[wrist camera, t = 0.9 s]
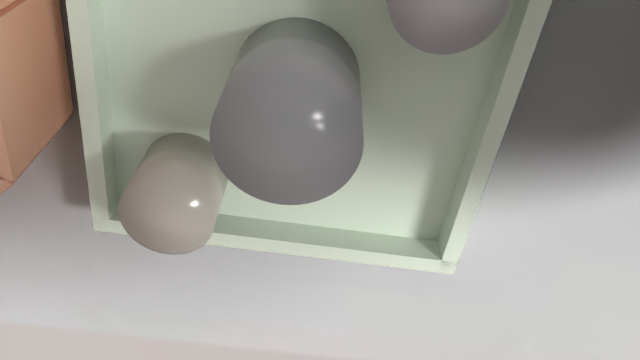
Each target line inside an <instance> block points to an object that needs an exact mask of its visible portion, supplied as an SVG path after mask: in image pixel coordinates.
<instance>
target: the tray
mask: <svg viewBox="0 0 640 360" xmlns="http://www.w3.org/2000/svg"><path fill="white" fill-rule="evenodd" d="M551 3H552V0H510V4H509V7H508V10H507V12H506V14H505V16H504V18H503V20H502V21H501V23H500V24H499V26H498V27H497V28H496V29H495V30H494V32H493V33H492V34H491V35H490V36H488V37H487V38H486V39H485V40H484V41H482V42H481V43H479V44H478V45H476V46H474V47H472V48H470V49H468V50H465V51H462V52H459V53H454V54H444V55H440V54H432V53H427V52H424V51H421V50H419V49H417V48H415V47H413V46H412V45H410V44H409V43H407V42H406V41H405V40H404V39H403V38H402V37H401V35H400V34H399V33H398V32H397V30H396V28H395V27H394V25H393V23H392V20H391V17H390V14H389V10H388V5H387V0H66V9H67V17H68V25H69V33H70V42H71V50H72V58H73V66H74V75H75V83H76V91H77V99H78V107H79V116H80V124H81V132H82V140H83V149H84V157H85V165H86V173H87V182H88V190H89V198H90V206H91V215H92V223H93V231H99V232H107V233H115V234H124V235H129V234H128V233H127V232H126V231H125V229H124V228H123V226H122V224H121V222H120V219H119V214H118V206H119V201H120V199H121V197H122V195H123V193H124V191H125V189H126V188H127V186H128V184H129V182H130V180H131V179H132V177H133V175H134V173H135V171H136V170H137V168H138V166H139V164H140V162H141V161H142V159H143V157H144V155H145V153H146V152H147V150H148V148H149V147H150V145H151V144H152V143H153V142H154V141H155V140H157V139H158V138H160V137H162V136H164V135H168V134H172V133H188V134H193V135H197V136H199V137H202V138H204V139H206V140H208V141H209V142H210V134H209V133H210V124H211V120H212V116H213V114H214V111H215V109H216V106H217V104H218V101H219V99H220V96H221V94H222V92H223V89H224V87H225V84H226V82H227V79H228V77H229V74H230V72H231V70H232V67H233V65H234V62H235V60H236V57H237V55H238V53H239V50H240V48H241V47H242V45H243V43H244V42H245V41H246V39H247V38H248V37H249V36H250V35H251V34H252V33H253V32H254V31H255V30H257V29H258V28H260V27H261V26H263V25H265V24H267V23H269V22H272V21H275V20H278V19H282V18H290V17H299V18H307V19H312V20H315V21H318V22H321V23H323V24H325V25H327V26H329V27H331V28H332V29H334V30H335V31H336V32H338V33H339V34H340V35H341V36H342V37H343V38H344V39H345V40H346V41H347V43H348V44H349V45H350V47H351V48H352V50H353V52H354V54H355V56H356V59H357V62H358V65H359V71H360V84H361V101H362V118H363V135H364V147H363V154H362V157H361V161H360V163H359V166H358V168H357V170H356V171H355V173H354V175H353V176H352V177H351V179H350V180H349V181H348V182H347V183H346V184H345V185H344V186H343V187H342V188H341V189H339V190H338V191H336V192H335V193H333V194H332V195H330V196H328V197H326V198H324V199H321V200H319V201H316V202H312V203H308V204H301V205H279V204H274V203H269V202H266V201H262V200H259V199H257V198H255V197H252V196H250V195H249V194H247V193H245V192H243V191H242V190H240V189H239V188H238V187H236V186H235V185H234V184H233V183H232V182H231V181H229V179H228V183H227V186H226V189H225V193H224V196H223V199H222V203H221V206H220V209H219V213H218V216H217V219H216V223H215V226H214V229H213V233H212V235H211V237H210V239H209V240H208V241H207V242H206V243H205V244H206V245H214V246H222V247H231V248H239V249H247V250H255V251H264V252H272V253H280V254H288V255H297V256H305V257H313V258H321V259H330V260H338V261H346V262H354V263H362V264H371V265H379V266H387V267H395V268H404V269H412V270H420V271H428V272H437V273H445V274H453V275H454V272H455V269H456V266H457V264H458V261H459V258H460V255H461V253H462V250H463V247H464V244H465V241H466V239H467V236H468V233H469V230H470V228H471V225H472V222H473V219H474V217H475V214H476V211H477V208H478V205H479V203H480V200H481V197H482V194H483V192H484V189H485V186H486V183H487V181H488V178H489V175H490V172H491V169H492V167H493V164H494V161H495V158H496V156H497V153H498V150H499V147H500V144H501V142H502V139H503V136H504V133H505V131H506V128H507V125H508V122H509V120H510V117H511V114H512V111H513V108H514V106H515V103H516V100H517V97H518V95H519V92H520V89H521V86H522V84H523V81H524V78H525V75H526V72H527V70H528V67H529V64H530V61H531V59H532V56H533V53H534V50H535V47H536V45H537V42H538V39H539V36H540V34H541V31H542V28H543V25H544V23H545V20H546V17H547V14H548V11H549V9H550V6H551Z"/></svg>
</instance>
